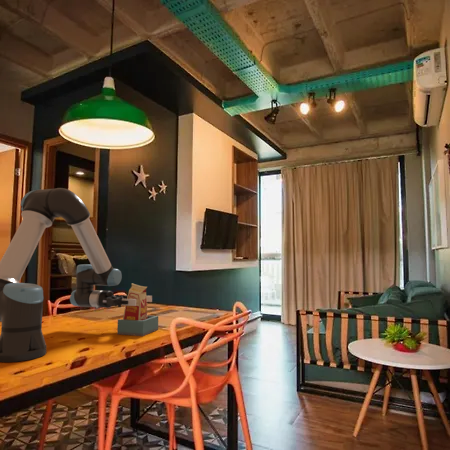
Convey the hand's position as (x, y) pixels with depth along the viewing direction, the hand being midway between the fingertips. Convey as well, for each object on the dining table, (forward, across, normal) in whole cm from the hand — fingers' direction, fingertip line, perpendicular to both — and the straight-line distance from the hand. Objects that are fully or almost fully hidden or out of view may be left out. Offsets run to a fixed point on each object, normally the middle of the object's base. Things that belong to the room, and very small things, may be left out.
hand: (144, 300), depth 154 cm
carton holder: (-3, 0, -14) cm, 14 cm away
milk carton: (-3, 0, -13) cm, 13 cm away
